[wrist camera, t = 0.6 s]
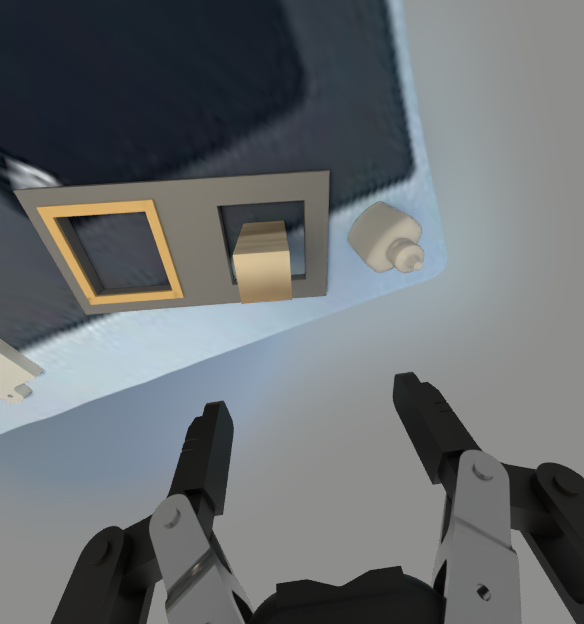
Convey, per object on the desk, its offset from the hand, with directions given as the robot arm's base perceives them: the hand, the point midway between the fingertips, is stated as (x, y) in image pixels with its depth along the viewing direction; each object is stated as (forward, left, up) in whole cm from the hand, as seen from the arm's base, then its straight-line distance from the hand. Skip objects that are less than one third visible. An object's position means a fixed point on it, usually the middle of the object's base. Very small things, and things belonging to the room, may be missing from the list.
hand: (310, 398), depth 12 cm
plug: (-1, -2, -22) cm, 22 cm away
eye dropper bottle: (-2, +10, -22) cm, 24 cm away
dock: (-1, -10, -22) cm, 24 cm away
